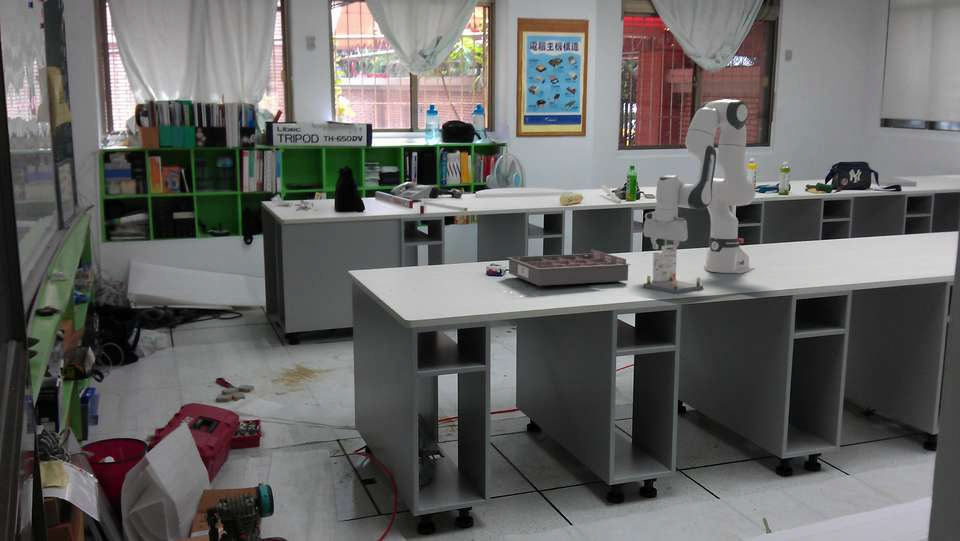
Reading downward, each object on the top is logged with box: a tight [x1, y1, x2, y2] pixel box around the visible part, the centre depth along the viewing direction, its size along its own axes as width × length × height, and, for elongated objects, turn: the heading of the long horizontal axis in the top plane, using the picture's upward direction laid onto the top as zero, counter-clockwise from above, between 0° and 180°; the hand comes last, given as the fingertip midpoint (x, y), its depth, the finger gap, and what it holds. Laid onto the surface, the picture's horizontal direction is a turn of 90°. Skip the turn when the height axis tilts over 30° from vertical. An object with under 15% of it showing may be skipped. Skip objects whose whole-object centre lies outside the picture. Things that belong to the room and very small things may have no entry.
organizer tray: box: [506, 249, 631, 286], centre depth 359 cm, size 32×40×10 cm
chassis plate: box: [642, 273, 704, 295], centre depth 342 cm, size 16×16×4 cm
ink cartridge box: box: [652, 244, 678, 282], centre depth 359 cm, size 9×5×15 cm, turn 123°
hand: (664, 250), depth 358 cm, fingers open, 8 cm apart
